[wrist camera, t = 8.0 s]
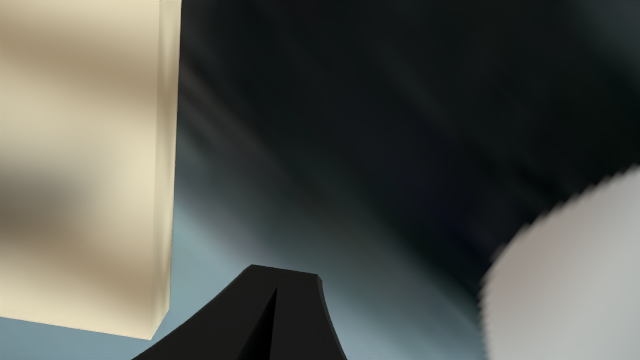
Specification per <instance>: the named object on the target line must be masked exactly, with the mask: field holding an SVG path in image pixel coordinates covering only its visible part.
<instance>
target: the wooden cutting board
mask: <svg viewBox="0 0 640 360" xmlns="http://www.w3.org/2000/svg"><path fill="white" fill-rule="evenodd" d="M180 18H181V0H0V316H1V317H7V318H13V319H20V320H26V321H32V322H39V323H45V324H52V325H58V326H64V327H71V328H77V329H83V330H90V331H96V332H103V333H109V334H115V335H122V336H128V337H134V338H141V339H147V340H151V339H152V337H153V335H154V333H155V332H156V330H157V328H158V327H159V325H160V323H161V322H162V320H163V318H164V316H165V315H166V313H167V311H168V310H169V298H170V273H171V247H172V222H173V196H174V171H175V145H176V120H177V95H178V69H179V44H180Z"/></svg>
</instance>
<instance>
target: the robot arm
mask: <svg viewBox="0 0 640 360" xmlns="http://www.w3.org/2000/svg"><path fill="white" fill-rule="evenodd" d="M132 360H347V358H346V356H345V354H344V352H343V349H342V347H341V344H340V342H339V339H338V337H337V334H336V332H335V329H334V327H333V324H332V321H331V318H330V315H329V312H328V309H327V305H326V302H325V298H324V293H323V287H322V280H321V279H320V277H319V276H318V275H317V274H312V273H305V272H299V271H292V270H286V269H279V268H273V267H266V266H260V265H253V264H252V265H250V266H249V267H247V268H246V269H244V270H243V271H242V272H241V273H240V274H239V275H238V276H237V277H236V278H235V279H234V280H233V281H232V282H231V283H230V284H229V285H228V286H227V287H226V288H225V289H223V290H222V291H221V292H220V293H219V294H218V295H217V296H216V297H214V298H213V299H212V300H211V301H210V302H209V303H207V304H206V305H205V306H204V307H203V308H201V309H200V310H199V311H198V312H197V313H195V314H194V315H193V316H192V317H191V318H189V319H188V320H187V321H185V322H184V323H183V324H182V325H180V326H179V327H177V328H176V329H175V330H173V331H172V332H171V333H169V334H168V335H167V336H165V337H164V338H162V339H161V340H160V341H158V342H157V343H156V344H154V345H153V346H151V347H150V348H148V349H147V350H145V351H144V352H142V353H141V354H139V355H138V356H136V357H135V358H133V359H132Z"/></svg>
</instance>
